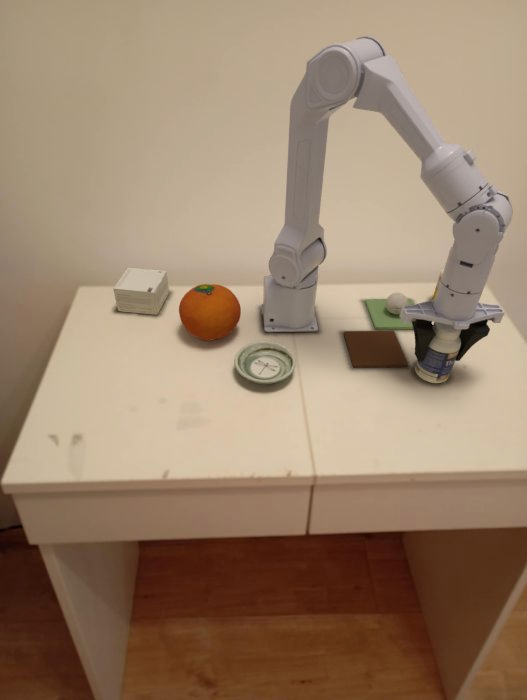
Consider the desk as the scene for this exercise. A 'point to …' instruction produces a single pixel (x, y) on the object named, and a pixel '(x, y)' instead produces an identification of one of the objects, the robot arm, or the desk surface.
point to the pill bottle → (440, 354)
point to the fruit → (209, 311)
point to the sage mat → (385, 316)
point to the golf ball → (396, 303)
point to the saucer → (265, 362)
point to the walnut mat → (374, 349)
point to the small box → (141, 291)
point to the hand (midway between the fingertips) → (436, 357)
